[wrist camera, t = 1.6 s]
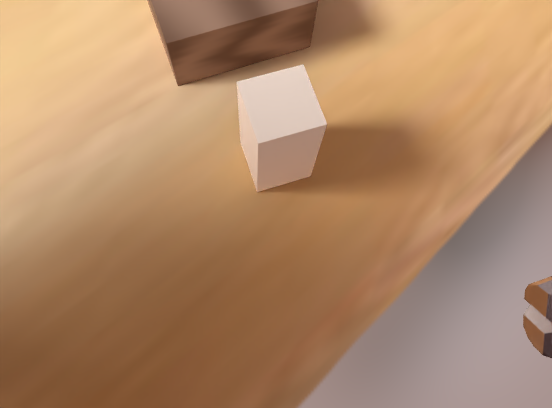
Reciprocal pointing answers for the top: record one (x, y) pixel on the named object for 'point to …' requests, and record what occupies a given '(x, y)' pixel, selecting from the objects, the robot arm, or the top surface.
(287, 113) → the cream block
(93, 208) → the top surface
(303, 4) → the walnut block
